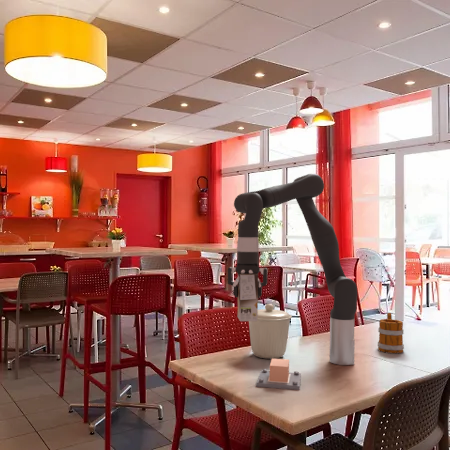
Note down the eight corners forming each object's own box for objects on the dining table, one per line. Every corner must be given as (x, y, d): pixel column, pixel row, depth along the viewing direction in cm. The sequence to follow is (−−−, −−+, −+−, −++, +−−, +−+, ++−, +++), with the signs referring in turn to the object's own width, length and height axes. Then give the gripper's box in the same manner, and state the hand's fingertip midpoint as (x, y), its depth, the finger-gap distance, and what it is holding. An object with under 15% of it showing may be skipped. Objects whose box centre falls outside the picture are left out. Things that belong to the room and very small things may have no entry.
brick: (288, 374, 168) (289, 359, 168) (287, 382, 160) (287, 366, 160) (271, 372, 170) (271, 358, 170) (269, 380, 161) (269, 365, 161)
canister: (238, 352, 201) (239, 301, 202) (274, 348, 210) (275, 299, 210) (261, 364, 185) (262, 308, 185) (299, 358, 194) (300, 305, 194)
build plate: (300, 376, 170) (300, 371, 170) (299, 389, 156) (299, 383, 156) (260, 373, 173) (261, 368, 173) (256, 386, 159) (256, 380, 159)
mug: (378, 352, 206) (379, 317, 206) (375, 344, 222) (376, 311, 222) (405, 354, 203) (406, 319, 203) (400, 345, 219) (401, 312, 219)
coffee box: (258, 321, 165) (258, 274, 165) (239, 321, 165) (240, 274, 165) (254, 316, 175) (254, 271, 175) (236, 316, 174) (237, 271, 174)
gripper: (269, 250, 172) (269, 296, 172) (229, 249, 175) (229, 295, 175) (267, 251, 165) (266, 299, 165) (225, 250, 167) (225, 298, 167)
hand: (247, 297), depth 170 cm, fingers closed on coffee box, 7 cm apart
